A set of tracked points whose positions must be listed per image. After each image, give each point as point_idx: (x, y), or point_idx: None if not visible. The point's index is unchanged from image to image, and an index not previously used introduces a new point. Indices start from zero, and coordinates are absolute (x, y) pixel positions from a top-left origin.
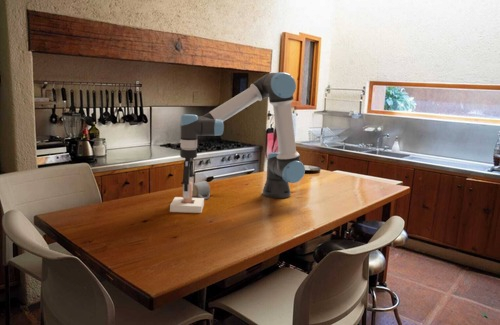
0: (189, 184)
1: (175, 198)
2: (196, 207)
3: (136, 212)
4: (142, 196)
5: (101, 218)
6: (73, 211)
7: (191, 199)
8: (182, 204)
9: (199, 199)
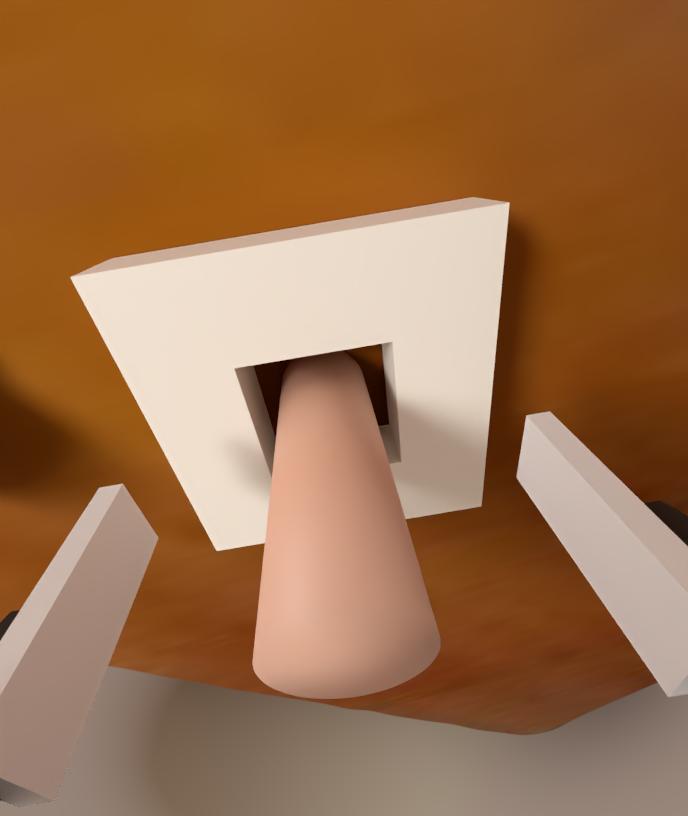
0: (423, 605)
1: (260, 535)
2: (495, 270)
3: (487, 592)
4: (181, 667)
5: (577, 644)
6: (486, 714)
7: (341, 396)
8: (444, 432)
9: (179, 323)
